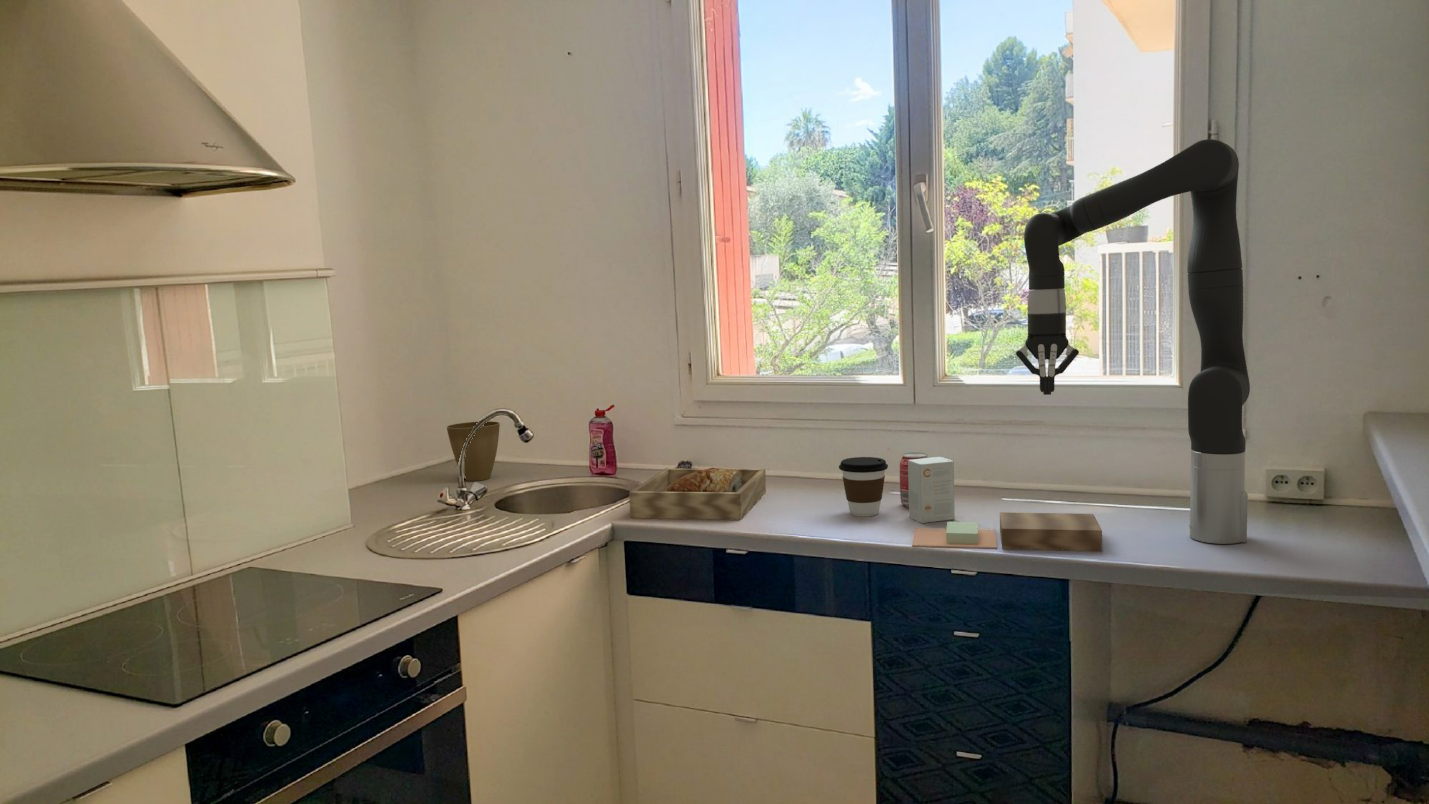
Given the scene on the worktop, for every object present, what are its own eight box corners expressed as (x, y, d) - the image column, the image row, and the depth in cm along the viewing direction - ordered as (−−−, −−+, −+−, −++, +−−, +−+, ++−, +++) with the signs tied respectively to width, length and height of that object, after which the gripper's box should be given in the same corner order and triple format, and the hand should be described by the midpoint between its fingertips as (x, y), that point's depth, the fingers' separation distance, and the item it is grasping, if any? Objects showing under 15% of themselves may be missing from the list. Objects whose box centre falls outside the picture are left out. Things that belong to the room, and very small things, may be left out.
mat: (994, 531, 200) (994, 529, 200) (996, 548, 187) (996, 547, 187) (915, 529, 204) (915, 528, 204) (912, 546, 191) (912, 545, 191)
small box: (941, 513, 217) (940, 456, 215) (955, 519, 211) (954, 460, 209) (908, 517, 215) (907, 459, 213) (921, 523, 209) (920, 464, 207)
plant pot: (511, 478, 280) (507, 423, 278) (460, 486, 272) (455, 429, 270) (493, 471, 292) (489, 418, 290) (444, 478, 284) (440, 424, 282)
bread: (723, 519, 221) (721, 476, 220) (650, 516, 228) (648, 474, 226) (753, 499, 240) (751, 460, 238) (685, 497, 246) (683, 458, 245)
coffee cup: (887, 506, 225) (885, 455, 224) (890, 518, 214) (889, 464, 213) (839, 507, 226) (838, 457, 225) (841, 519, 215) (839, 466, 214)
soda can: (935, 503, 226) (934, 452, 225) (925, 510, 220) (924, 458, 219) (906, 501, 230) (905, 451, 229) (895, 507, 224) (894, 456, 222)
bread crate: (766, 492, 246) (765, 468, 246) (741, 519, 219) (740, 493, 218) (666, 491, 253) (665, 468, 252) (630, 517, 226) (629, 492, 225)
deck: (1093, 533, 195) (1093, 513, 194) (1102, 551, 182) (1102, 530, 182) (999, 531, 199) (999, 512, 199) (1002, 548, 187) (1001, 528, 187)
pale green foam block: (947, 521, 200) (947, 531, 200) (946, 532, 192) (946, 542, 192) (977, 522, 199) (977, 531, 199) (977, 533, 190) (977, 543, 190)
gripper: (1078, 309, 203) (1078, 391, 205) (1012, 311, 206) (1013, 392, 209) (1082, 310, 196) (1082, 396, 198) (1014, 313, 199) (1014, 397, 201)
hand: (1046, 394), depth 203 cm, fingers closed
